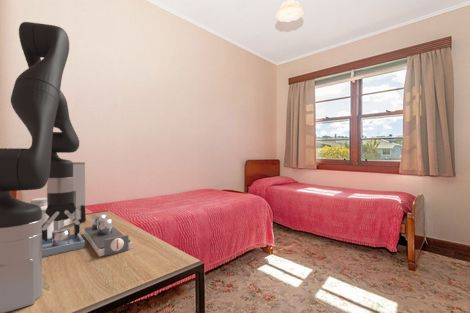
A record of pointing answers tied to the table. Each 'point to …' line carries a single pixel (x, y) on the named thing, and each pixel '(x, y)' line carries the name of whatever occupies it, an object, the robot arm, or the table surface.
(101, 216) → the cylinder
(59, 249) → the tray
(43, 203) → the pill bottle
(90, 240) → the scale
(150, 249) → the table surface
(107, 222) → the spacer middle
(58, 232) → the cylinder
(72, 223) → the cabinet
